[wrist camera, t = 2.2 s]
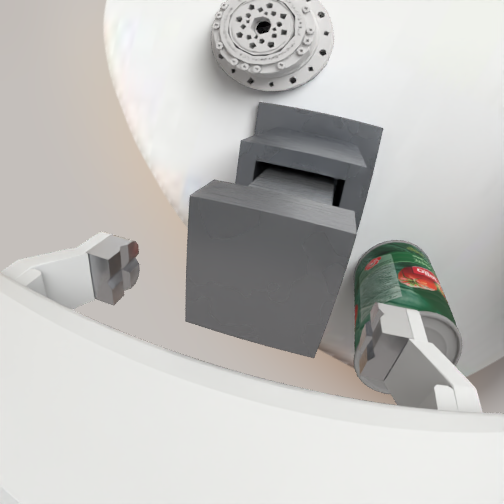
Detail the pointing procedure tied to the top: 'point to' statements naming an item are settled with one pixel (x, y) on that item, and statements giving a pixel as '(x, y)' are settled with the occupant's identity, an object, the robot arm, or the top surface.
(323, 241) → the column
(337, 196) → the grey hollow housing
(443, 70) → the top surface
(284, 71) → the mechanical component
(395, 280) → the canned tomato
